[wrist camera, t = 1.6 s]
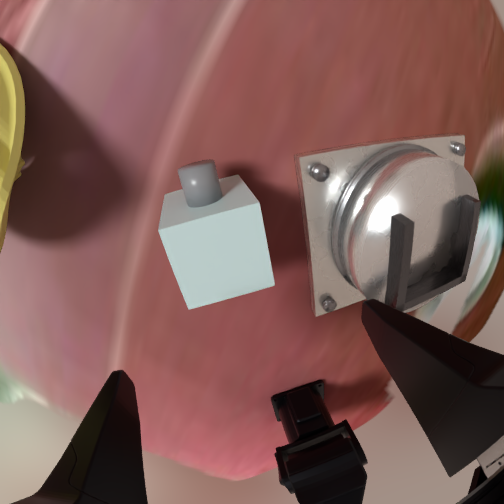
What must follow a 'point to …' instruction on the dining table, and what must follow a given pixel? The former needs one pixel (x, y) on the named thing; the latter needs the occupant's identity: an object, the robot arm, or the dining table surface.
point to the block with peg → (214, 236)
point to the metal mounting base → (387, 220)
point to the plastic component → (9, 132)
